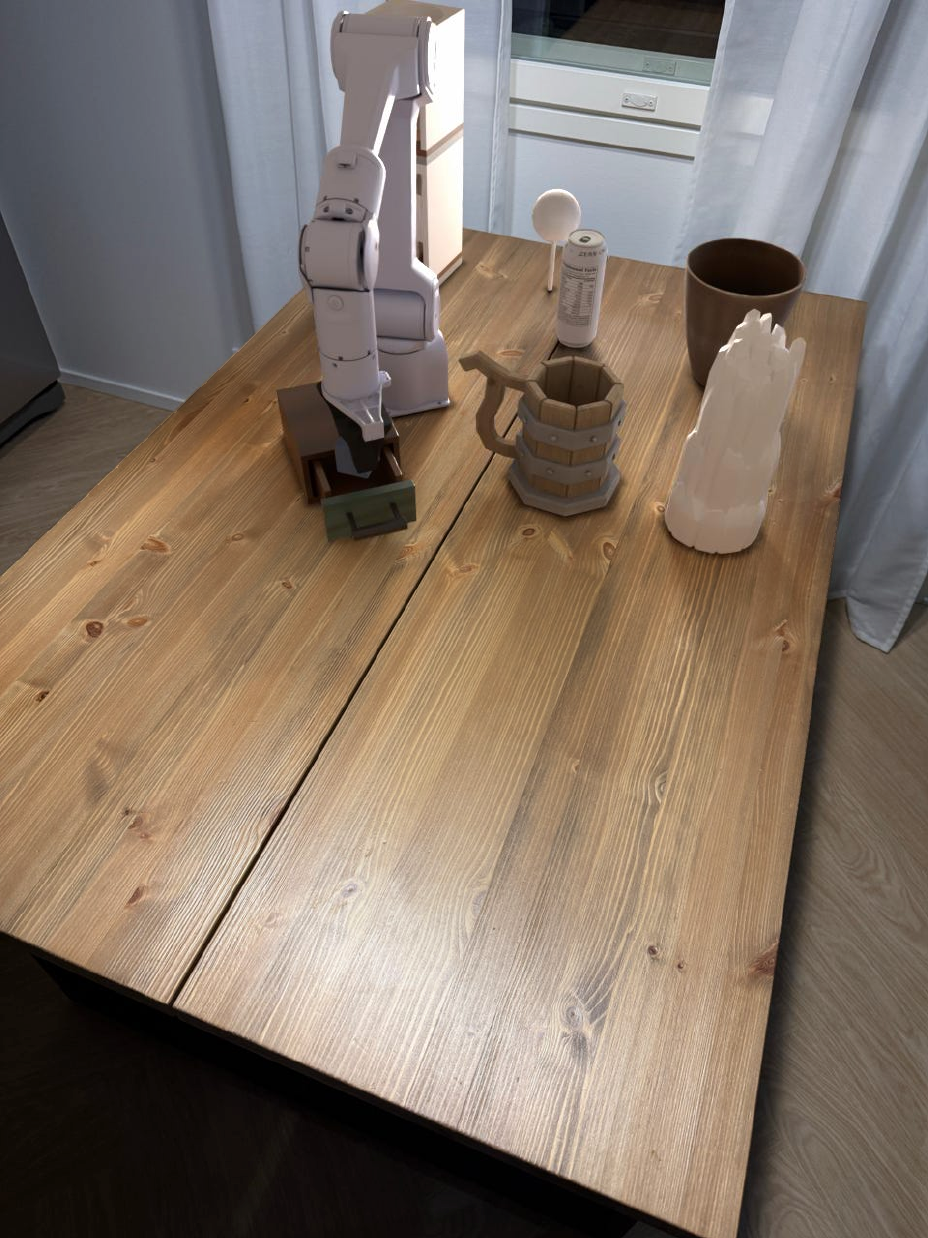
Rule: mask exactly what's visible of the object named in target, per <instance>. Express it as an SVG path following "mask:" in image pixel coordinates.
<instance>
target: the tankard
mask: <svg viewBox="0 0 928 1238" xmlns="http://www.w3.org/2000/svg"><path fill="white" fill-rule="evenodd" d="M458 363H459V364H460V366H461V368H462V370H463V371H464V372H470V371H472V370H473V371H474V370H477V371H479V372H480V373H481V374H482V375H483V376H484V377H486V384H485V389H484V390H485V392H484V397H483V399H482V401H481V403H480V405H479V407H478V409H477V411H476V413H475V431H476V433H477V435H478V437H479V438H480V441H481V443H482V444H483V447H484V449H486V450H488V451H491V452H492V453H495V454H497V455H500V456H501V457H505V458H509V459H513V460H512V461H511V463H510V464H509V466H508V467H507V475H506V476H507V478H508V480H509V482H510V483H511V485H512V486H513V488H514V490H515V491H516V493H517V495H518V496H519V499H520V500H521V502H522V503H523V504H524V505H527V506H530V507H533V508H536V509H539V510H542V511H546V512H549V513H552V514H555V515H559V516H561V517H568V516H572V515H576V514H580V513H584V512H589V511H593V510H596V509H601V508H604V507H607V505H608V503H609V501H610V499H611V497H612V495H613V494H614V492H615V490H616V488H617V486H618V484H619V482H620V480H621V475H622V471H621V470H620V469H619V467H618V466H617V465H616V463H615V460H616V459H617V456H618V454H619V452H620V445H621V439H622V438H621V437H620V436H619V435H618V433H617V432H618V431H619V429H620V427H622V425H623V422H624V420H625V416H626V412H627V411H626V410H627V405H628V403H627V402H626V401H625V400H624V399H623V395H624V389H625V386H624V385H625V384H624V383H623V382H622V380H621V379H620V377H618V376H617V374H616V372H614V370H613V369H612V368H611V367H610V366H609V365H607V364H606V363H604V362H600V361H596V360H592V359H588V358H585V357H581V356H578V355H574V356H572V355H569V356H563V357H558V358H554V359H553V358H552V359H549V360H544V361H541V362H539V363H537V365H536V367H535V368H534V369H533V371H531V373H530V375H527V374H523V373H519V372H516V371H513V370H512V371H511V370H509V369H507V368H506V367H505V366H503V365H501V363H498V362H497V361H496V360H494V359H493V358H492V357H490V356H488V355H487V353H485V352H483V351H482V350H481V349H478V350H474V351H471V352H468V353H464V354H462V355H461V356H460V357H459V358H458ZM506 388H509V389H513V390H514V391H515V390H516V391H518V392H522V395H521V396H520V397H519V398H518V400H517V417H518V418H519V420H520V422H521V423H522V426H521V427H520V429H519V430H518V431H517V434H516V435H515V440H512V439H506V438H505V437H502V436H500V435H499V434H498V432H497V430H496V427H495V418H496V415H497V413H498V412H499V410H500V407H501V406H502V403H503V401H504V398H505V392H506Z"/></svg>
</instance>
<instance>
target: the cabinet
mask: <svg viewBox="0 0 928 1238" xmlns="http://www.w3.org/2000/svg"><path fill="white" fill-rule="evenodd" d="M318 382H319V381H315V382H310V383H304V384H299V385H294V386H289V387H284V388H283V387H282V388H279V389H276V390H275V393H276V399H277V403H278V404H277V405H278V410H279V414H280V420H281V427H282V432H283V438H284V440H285V443H286V446H287V449H288V452H289V454H290V458H291V460H292V463H293V465H294V466H293V467H294V469H295V472H296V474H297V477H298V480H299V483H300V485H301V488H302V491H303V494H304V496H305V500H306V502H307V504H308V505H310V504H315V503H320V502H321V501H320V499H319V496H318V493H317V491H316V488H315V485H314V483H313V480H312V477H311V474H310V470H309V463H308V460H313V459H318V458H322V457H327V456H332V455H335V448H334V445H335V444H336V442H337V441H338V440H339V438H340V436H339V434H338V431H337V428H336V426H335V424H334V419H333V416H332V413H331V411H330V409H329V406H328V405H327V403H326V402H325V400H324V399H323V398H322V397H321V395H320V394H319V392H318V390H317V387H316V385H317V383H318ZM385 412H387V411H386V409H385V407H384V404H383V402H382V400H381V413H385ZM385 444H388V445H389V448H390V450H391V452H392V454H393V456H394V458H395V460H396V462H397V464H398V467H399V469H400V471H401V472H402V464H401V462H402V461H401V447H400V445H401V443H400V435H399V433H398V431H397V429H396V427H395V424H394V422H392V428H391V429H390V431H389V432H388V433H387V435H386V437H385V439H384V441H383V443H382V445H385Z"/></svg>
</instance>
